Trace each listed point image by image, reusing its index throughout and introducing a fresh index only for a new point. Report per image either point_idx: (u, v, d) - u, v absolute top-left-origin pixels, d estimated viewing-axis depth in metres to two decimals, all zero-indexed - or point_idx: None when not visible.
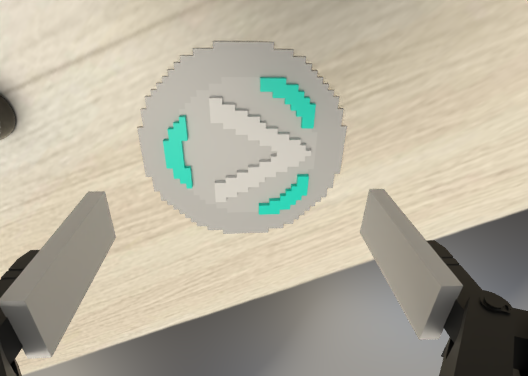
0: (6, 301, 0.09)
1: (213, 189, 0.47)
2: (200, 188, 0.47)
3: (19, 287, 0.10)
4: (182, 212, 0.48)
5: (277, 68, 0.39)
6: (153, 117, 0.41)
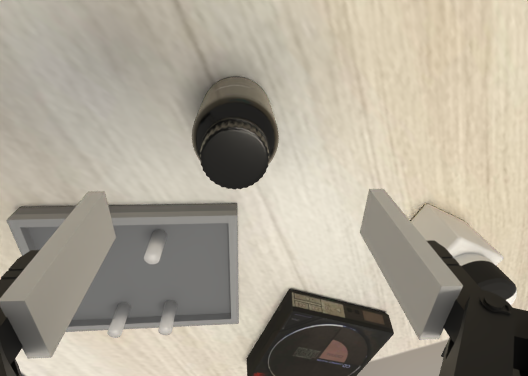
0: (6, 301, 0.09)
1: None
2: None
3: (19, 287, 0.10)
4: None
5: None
6: None
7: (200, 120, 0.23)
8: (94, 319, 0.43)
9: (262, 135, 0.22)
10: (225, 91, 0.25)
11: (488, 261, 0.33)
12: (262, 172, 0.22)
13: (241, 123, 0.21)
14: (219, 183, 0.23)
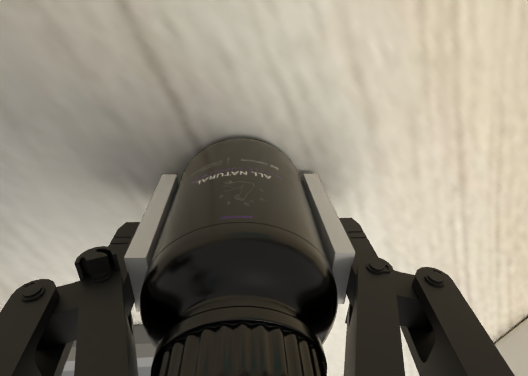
0: (130, 258, 0.11)
1: None
2: None
3: (136, 248, 0.12)
4: None
5: None
6: None
7: (154, 289, 0.09)
8: None
9: (314, 354, 0.08)
10: (218, 200, 0.11)
11: None
12: None
13: (259, 343, 0.07)
14: None
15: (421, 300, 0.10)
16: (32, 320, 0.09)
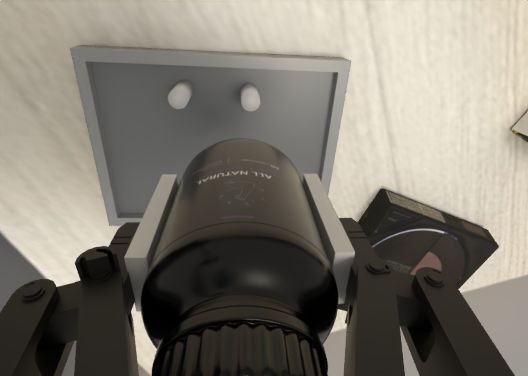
0: (130, 258, 0.11)
1: None
2: None
3: (137, 247, 0.12)
4: None
5: None
6: None
7: (156, 288, 0.09)
8: None
9: (315, 353, 0.08)
10: (218, 200, 0.11)
11: None
12: None
13: (260, 342, 0.07)
14: None
15: (421, 300, 0.10)
16: (32, 320, 0.09)
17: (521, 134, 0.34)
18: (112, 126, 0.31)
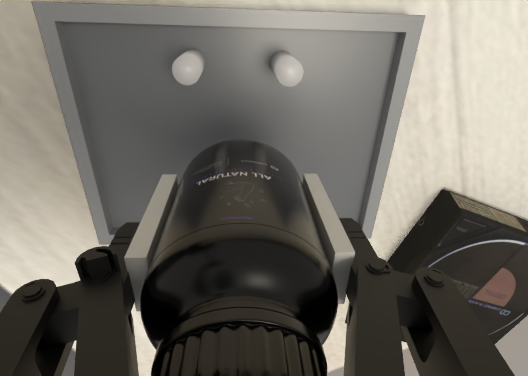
0: (130, 258, 0.11)
1: None
2: None
3: (137, 247, 0.12)
4: None
5: None
6: None
7: (155, 289, 0.09)
8: None
9: (314, 355, 0.08)
10: (218, 201, 0.11)
11: None
12: None
13: (260, 344, 0.07)
14: None
15: (421, 300, 0.10)
16: (32, 320, 0.09)
17: None
18: (98, 115, 0.23)
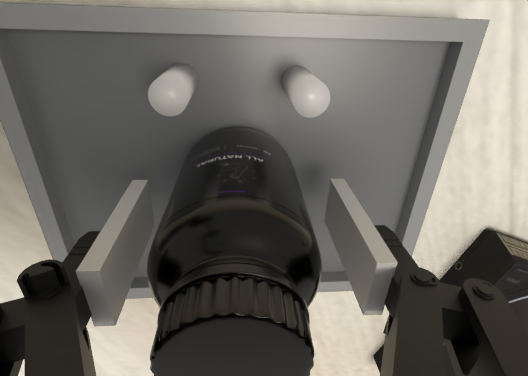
0: (83, 271, 0.10)
1: None
2: None
3: (91, 260, 0.11)
4: None
5: None
6: None
7: (160, 253, 0.11)
8: (140, 277, 0.23)
9: (296, 304, 0.10)
10: (215, 178, 0.12)
11: None
12: None
13: (249, 289, 0.09)
14: None
15: None
16: None
17: None
18: (59, 147, 0.18)
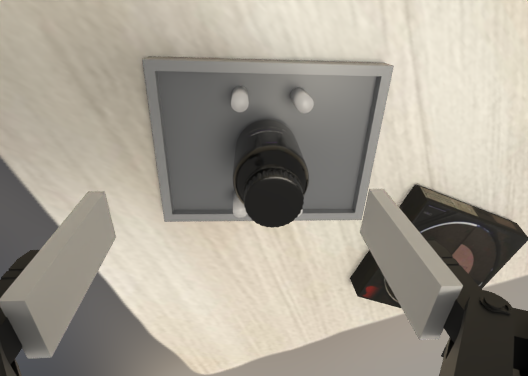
0: (6, 301, 0.09)
1: None
2: None
3: (19, 287, 0.10)
4: None
5: None
6: None
7: (242, 166, 0.27)
8: (205, 209, 0.39)
9: (297, 181, 0.25)
10: (262, 138, 0.28)
11: None
12: (297, 213, 0.25)
13: (280, 171, 0.24)
14: (259, 222, 0.26)
15: None
16: None
17: None
18: (172, 129, 0.34)
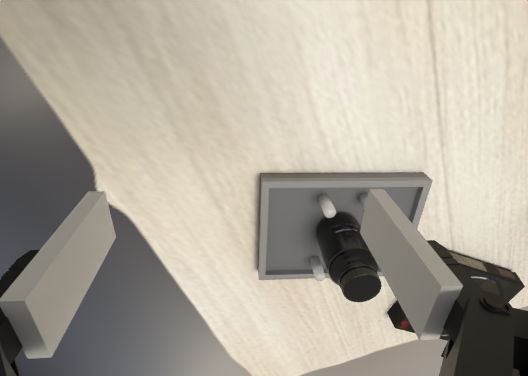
0: (6, 301, 0.09)
1: None
2: None
3: (19, 287, 0.10)
4: None
5: None
6: None
7: (337, 261, 0.40)
8: (287, 270, 0.52)
9: (376, 273, 0.39)
10: (347, 238, 0.42)
11: None
12: (375, 294, 0.39)
13: (367, 269, 0.38)
14: (350, 299, 0.39)
15: None
16: None
17: None
18: (272, 220, 0.47)
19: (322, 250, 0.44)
